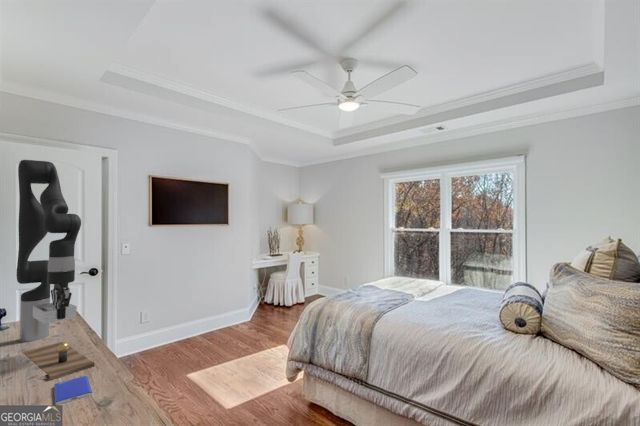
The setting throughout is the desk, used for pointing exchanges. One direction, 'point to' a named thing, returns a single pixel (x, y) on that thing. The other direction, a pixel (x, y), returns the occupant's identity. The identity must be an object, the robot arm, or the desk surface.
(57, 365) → the brown wooden board
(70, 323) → the desk surface
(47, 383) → the desk surface
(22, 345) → the desk surface
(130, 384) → the desk surface
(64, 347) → the post
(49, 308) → the grey rectangular frame
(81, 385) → the hard drive
